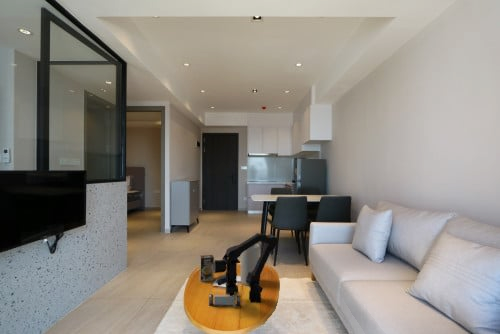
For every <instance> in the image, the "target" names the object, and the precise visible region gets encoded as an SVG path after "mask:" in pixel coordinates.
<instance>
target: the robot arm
mask: <svg viewBox="0 0 500 334" xmlns="http://www.w3.org/2000/svg"><path fill="white" fill-rule="evenodd" d="M259 242H261V243H263V249H262V251H261V253H260V254H259V259H258V262H257V264H256V266H255V268H254V270H253V271H252V272H251V273H250V272H249V273H248V276H247V277H246V283H247V284H248V287H249V288H250V289H249V292H248V298H249V299H248V300H249V303H262V292H263V289H264V288H263V287H262V286H261V285H260V282H261V275H262V272H263V270H264V268H265V266H266V264H267V261H268V259H269V257H270V255H271V252H273V250H274V249H276V247H277V246H278V244H279V240H278V238H277V236H274V235H272V234H268V235H266V234H262V233H259V232H257V233H255V234H254V235H253V236H251V237H249V238H247V239H246V240H244V241H242V242H241V243H240V244H237V245H233V246H231V247H228V248H227V249H226V251H225V254H224V255H223V257H222V258H221V259H218V260H217V259H214V265H213V271H214V274H220V273H225V274H221V275H219V276H216V279H215V280H216V282H217V283H216V284H217V285H218V286H219V287H220V286H222V285H224V284H225V290H226V289H227V293H229V294H228V295H229V296H234V295H235V294H237V293H239V287H238V285H237V279H238V278H237V277H238V271H237V270H238V269H237V267H238V266H237V264H241V260H239V257H241V254H242V253H243V252H244V251H245V250H247V249H248V248H250V247H252V246H253V245H255V244H258V243H259ZM226 286H227V287H226Z"/></svg>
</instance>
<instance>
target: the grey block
mask: <svg viewBox="0 0 500 334" xmlns="http://www.w3.org/2000/svg"><path fill="white" fill-rule="evenodd" d="M236 296H237V294H234V295H233V296H230V295H225V294H224V295H221V294H220V295H219V294H218V295H217V294H216V295H213V304H220V305H233V299H236Z"/></svg>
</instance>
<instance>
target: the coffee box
mask: <svg viewBox="0 0 500 334" xmlns="http://www.w3.org/2000/svg"><path fill="white" fill-rule="evenodd" d="M214 260H215V258H214V255H213V254H208V255H199V281H200V282H201V283H203V282H213V281H214V280H215V279H214V276H215V275H214V274H215V273H214V271H213V265H214Z"/></svg>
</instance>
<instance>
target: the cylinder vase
mask: <svg viewBox="0 0 500 334" xmlns="http://www.w3.org/2000/svg"><path fill="white" fill-rule="evenodd" d="M259 257H260V245H259V244H258V243H256V244H255V245H253V246H252V247H250V248H248V249H247V250H245V251H244V252H243V253H242V254H241V255H240V283H241V284H242V285H244V286H248V284H247V283H246V277H247V276H248V273H249V272H250V273H251V272H252V271H253V270H254V268H255V266H256V264H257V262H258V259H259ZM248 287H249V286H248Z"/></svg>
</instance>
